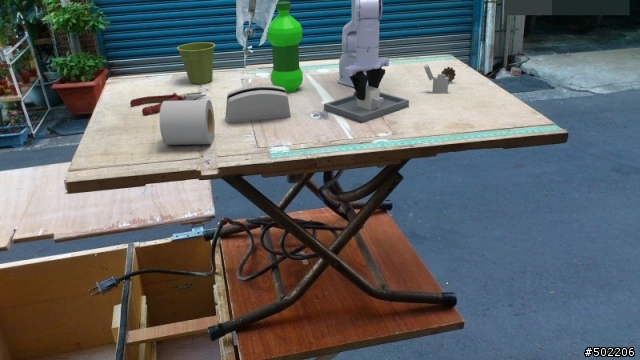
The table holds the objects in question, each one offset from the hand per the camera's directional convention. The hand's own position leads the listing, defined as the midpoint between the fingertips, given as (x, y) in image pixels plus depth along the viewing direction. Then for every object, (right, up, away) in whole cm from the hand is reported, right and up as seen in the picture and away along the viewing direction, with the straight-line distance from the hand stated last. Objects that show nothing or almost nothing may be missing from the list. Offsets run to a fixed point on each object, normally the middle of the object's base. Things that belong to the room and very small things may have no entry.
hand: (366, 97), depth 142 cm
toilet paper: (-42, -13, -17) cm, 48 cm away
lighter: (+21, +3, +13) cm, 25 cm away
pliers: (-54, -2, +8) cm, 55 cm away
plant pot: (-50, +9, +29) cm, 59 cm away
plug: (0, -2, +1) cm, 2 cm away
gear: (+26, +7, +21) cm, 34 cm away
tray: (0, -3, +1) cm, 3 cm away
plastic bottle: (-22, +5, +19) cm, 29 cm away
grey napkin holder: (-28, -6, -3) cm, 29 cm away
